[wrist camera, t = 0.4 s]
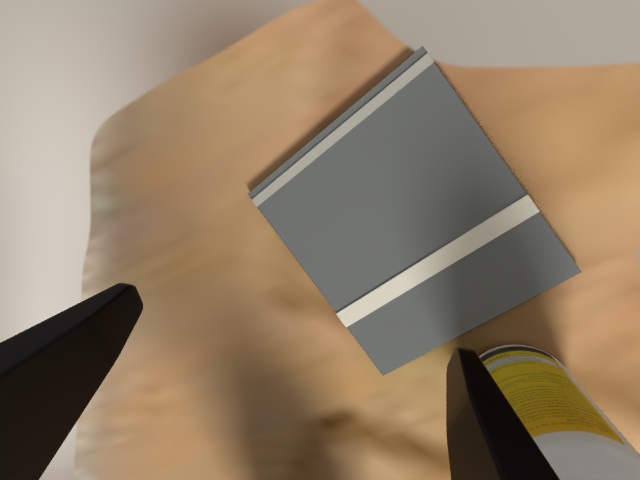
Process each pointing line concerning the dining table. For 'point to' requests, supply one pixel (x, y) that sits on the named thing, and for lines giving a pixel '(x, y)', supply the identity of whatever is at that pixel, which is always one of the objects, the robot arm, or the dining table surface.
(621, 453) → the pill bottle
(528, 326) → the dining table surface
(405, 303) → the mat
